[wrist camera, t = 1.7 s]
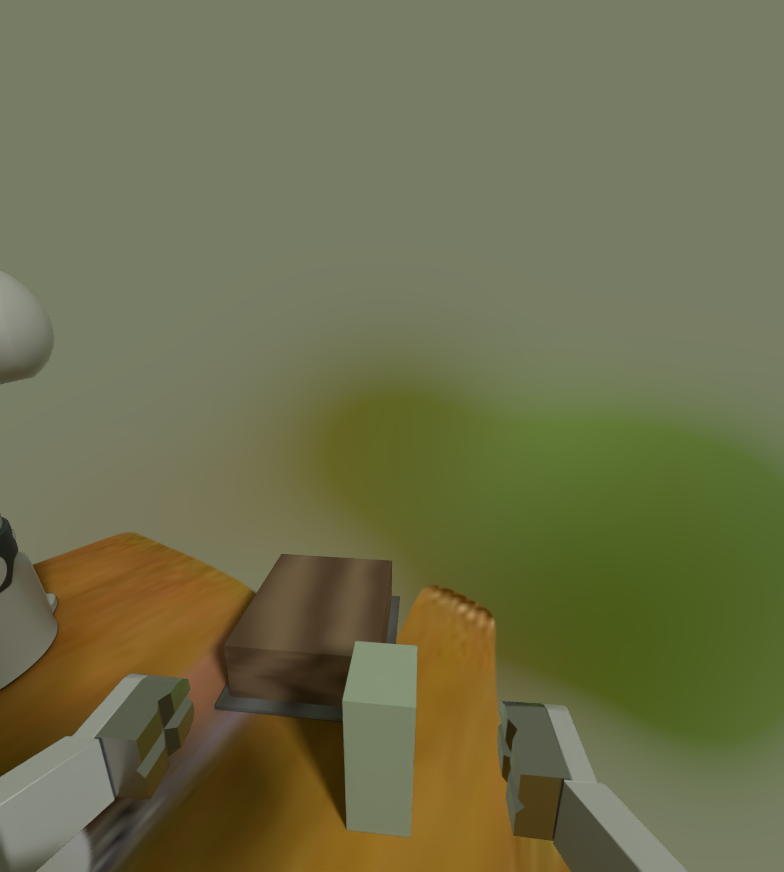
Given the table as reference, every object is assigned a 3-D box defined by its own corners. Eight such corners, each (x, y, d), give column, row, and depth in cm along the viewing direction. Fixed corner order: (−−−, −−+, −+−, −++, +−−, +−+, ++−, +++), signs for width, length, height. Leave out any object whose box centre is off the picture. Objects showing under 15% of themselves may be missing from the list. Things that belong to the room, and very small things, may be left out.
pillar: (346, 829, 26) (342, 700, 22) (357, 758, 30) (355, 641, 27) (410, 837, 25) (415, 707, 22) (412, 764, 30) (417, 645, 26)
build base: (215, 709, 34) (206, 654, 32) (280, 590, 49) (276, 549, 47) (388, 725, 33) (388, 669, 31) (399, 598, 48) (400, 556, 46)
